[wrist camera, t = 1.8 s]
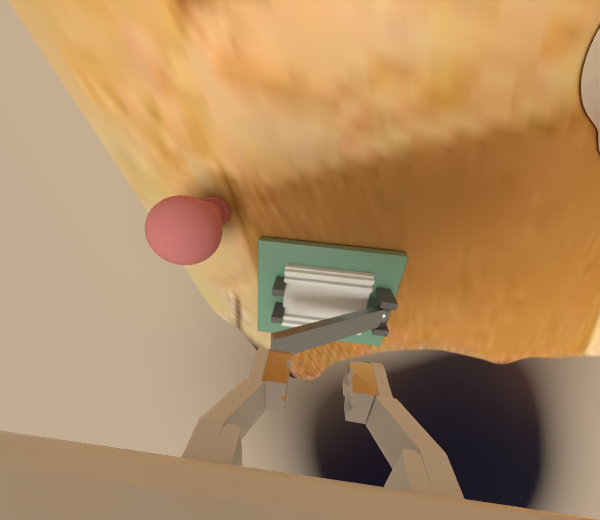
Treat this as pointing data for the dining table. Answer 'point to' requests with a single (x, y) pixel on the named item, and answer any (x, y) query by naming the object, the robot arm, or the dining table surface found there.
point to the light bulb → (186, 228)
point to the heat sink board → (324, 284)
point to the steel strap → (329, 330)
